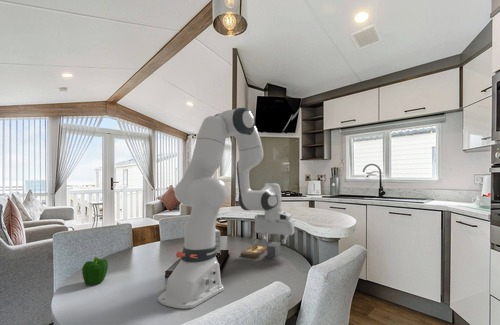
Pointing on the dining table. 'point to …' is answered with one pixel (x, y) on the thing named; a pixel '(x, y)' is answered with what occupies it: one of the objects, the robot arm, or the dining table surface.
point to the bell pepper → (94, 271)
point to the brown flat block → (254, 250)
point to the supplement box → (217, 240)
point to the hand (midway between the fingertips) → (274, 242)
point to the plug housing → (273, 250)
